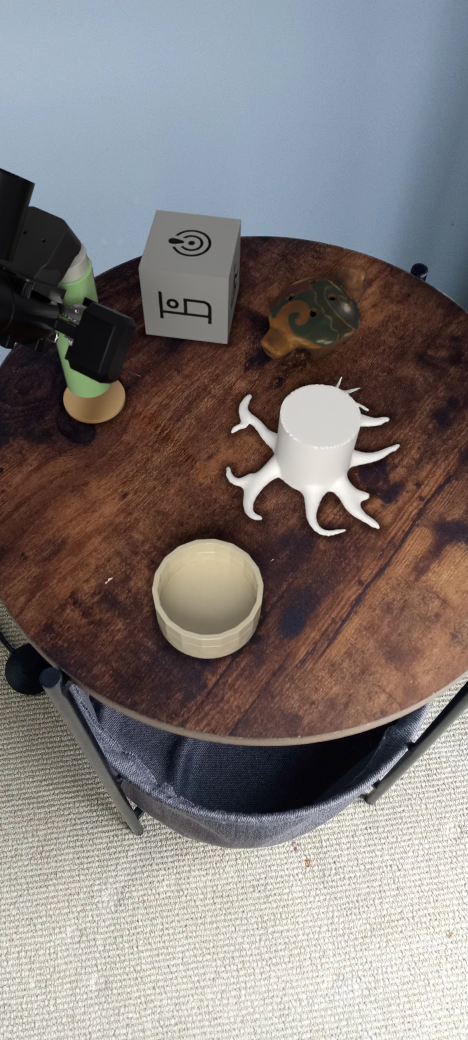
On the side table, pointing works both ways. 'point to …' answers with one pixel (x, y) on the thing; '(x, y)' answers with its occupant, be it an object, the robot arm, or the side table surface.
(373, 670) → the side table surface
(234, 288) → the icon cube
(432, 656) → the side table surface
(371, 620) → the side table surface
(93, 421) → the coaster
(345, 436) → the tree stump
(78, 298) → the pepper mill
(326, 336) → the ocarina
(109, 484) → the side table surface
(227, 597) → the bowl
